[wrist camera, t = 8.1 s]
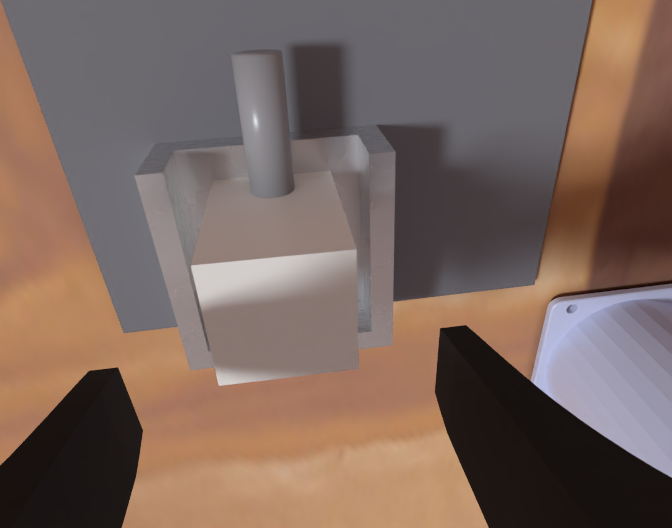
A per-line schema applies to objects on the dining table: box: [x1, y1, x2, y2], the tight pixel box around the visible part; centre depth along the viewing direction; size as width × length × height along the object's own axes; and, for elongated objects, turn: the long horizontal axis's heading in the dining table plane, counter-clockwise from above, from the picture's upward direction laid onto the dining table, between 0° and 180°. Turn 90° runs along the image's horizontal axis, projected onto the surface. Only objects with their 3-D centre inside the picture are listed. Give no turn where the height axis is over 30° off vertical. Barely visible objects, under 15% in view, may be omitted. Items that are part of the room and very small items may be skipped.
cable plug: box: [191, 49, 359, 386], centre depth 14 cm, size 4×8×6 cm, turn 2°
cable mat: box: [1, 0, 592, 333], centre depth 17 cm, size 18×15×1 cm
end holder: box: [134, 125, 396, 370], centre depth 17 cm, size 8×8×3 cm
